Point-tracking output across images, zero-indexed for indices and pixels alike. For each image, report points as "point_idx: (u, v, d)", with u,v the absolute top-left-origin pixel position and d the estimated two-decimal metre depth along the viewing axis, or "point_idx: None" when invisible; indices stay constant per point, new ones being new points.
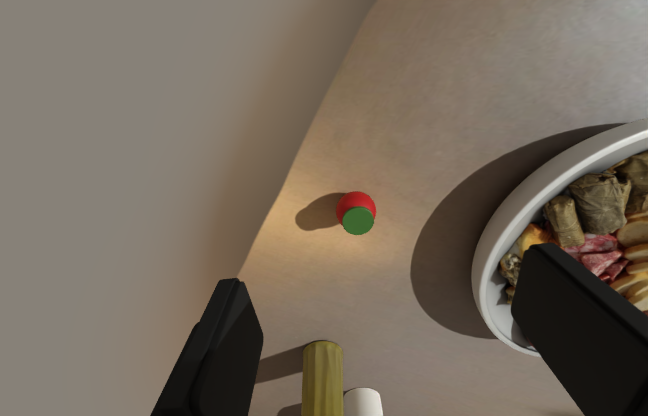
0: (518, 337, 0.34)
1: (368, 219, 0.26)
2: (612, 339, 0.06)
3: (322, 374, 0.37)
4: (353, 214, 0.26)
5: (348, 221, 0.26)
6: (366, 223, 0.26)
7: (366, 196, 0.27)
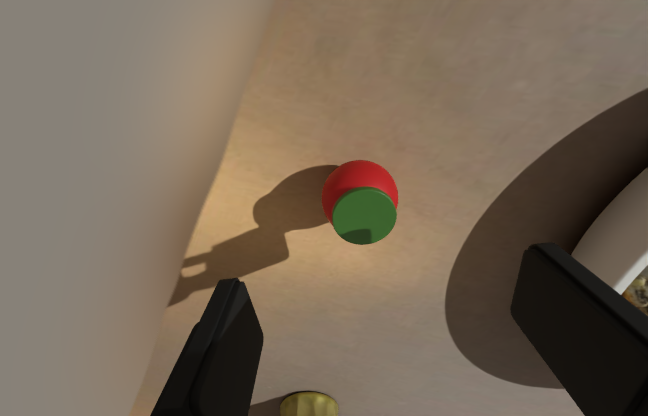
0: None
1: (385, 214, 0.13)
2: (612, 339, 0.06)
3: None
4: (354, 203, 0.12)
5: (344, 218, 0.13)
6: (381, 222, 0.13)
7: (380, 168, 0.14)
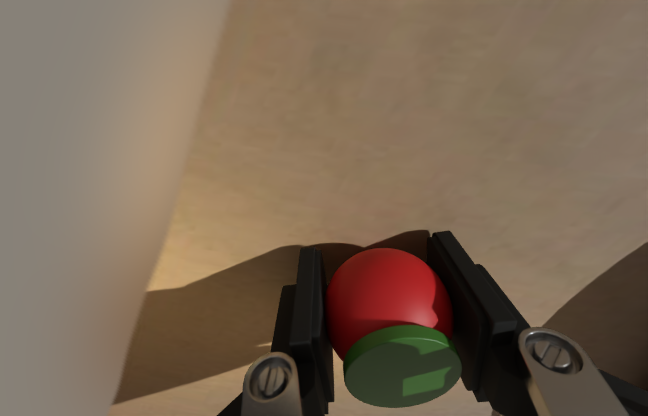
0: None
1: (442, 370, 0.07)
2: (466, 307, 0.07)
3: None
4: (387, 358, 0.07)
5: (367, 377, 0.07)
6: (433, 381, 0.07)
7: (425, 272, 0.08)
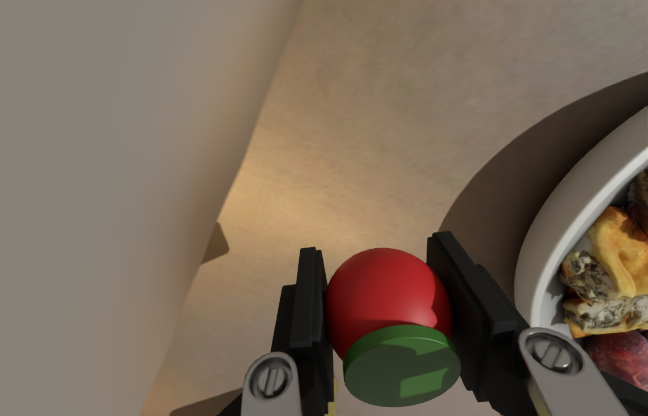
0: None
1: (441, 369, 0.07)
2: (465, 307, 0.07)
3: None
4: (387, 357, 0.07)
5: (366, 376, 0.07)
6: (432, 380, 0.07)
7: (424, 272, 0.08)
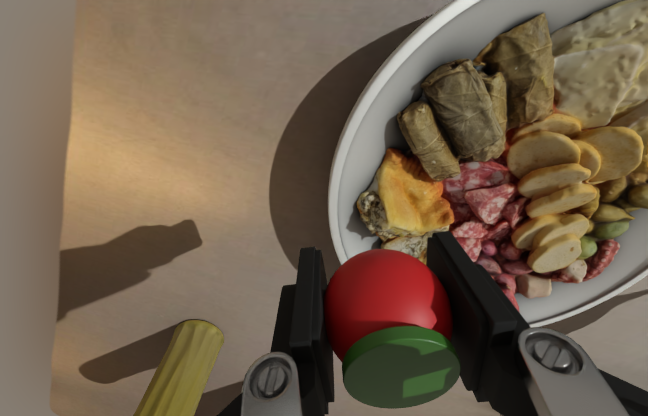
0: None
1: (441, 371, 0.07)
2: (465, 307, 0.07)
3: (176, 358, 0.30)
4: (386, 359, 0.07)
5: (365, 377, 0.07)
6: (431, 381, 0.07)
7: (424, 273, 0.08)
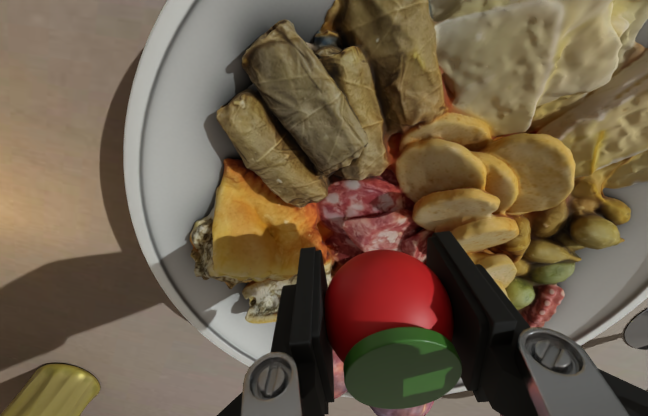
0: None
1: (442, 372, 0.07)
2: (465, 307, 0.07)
3: None
4: (387, 360, 0.07)
5: (367, 378, 0.07)
6: (433, 382, 0.07)
7: (425, 274, 0.08)
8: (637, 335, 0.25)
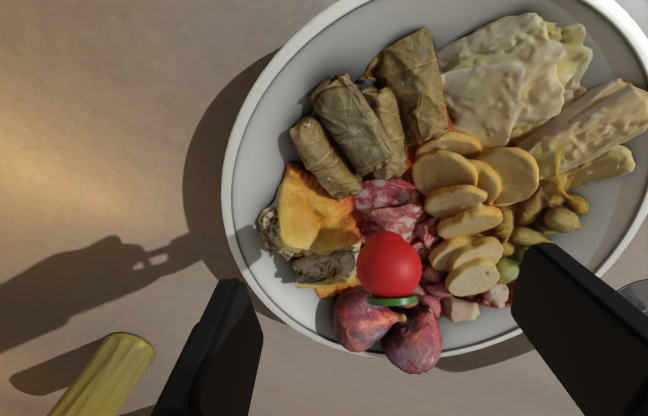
0: (327, 328, 0.26)
1: None
2: (612, 339, 0.06)
3: (92, 374, 0.29)
4: None
5: None
6: None
7: (388, 271, 0.15)
8: None
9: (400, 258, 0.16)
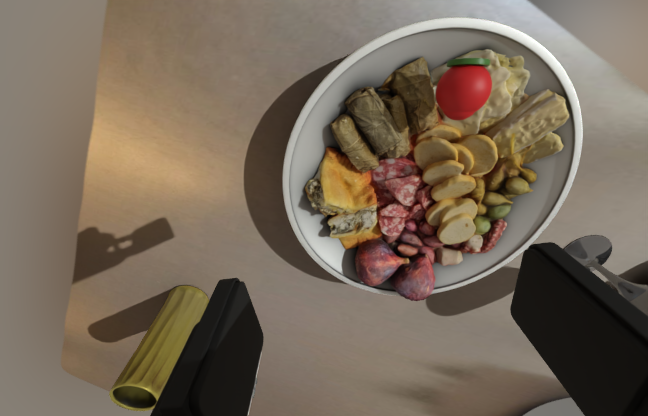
0: (350, 271, 0.35)
1: None
2: (612, 339, 0.06)
3: (170, 312, 0.37)
4: None
5: None
6: None
7: None
8: None
9: None
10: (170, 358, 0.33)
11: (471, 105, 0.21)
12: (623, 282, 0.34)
